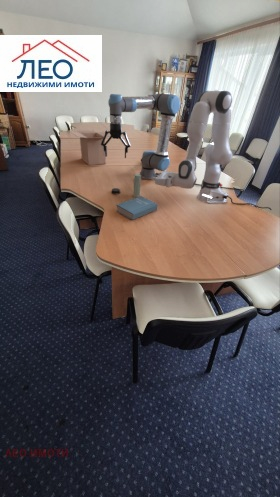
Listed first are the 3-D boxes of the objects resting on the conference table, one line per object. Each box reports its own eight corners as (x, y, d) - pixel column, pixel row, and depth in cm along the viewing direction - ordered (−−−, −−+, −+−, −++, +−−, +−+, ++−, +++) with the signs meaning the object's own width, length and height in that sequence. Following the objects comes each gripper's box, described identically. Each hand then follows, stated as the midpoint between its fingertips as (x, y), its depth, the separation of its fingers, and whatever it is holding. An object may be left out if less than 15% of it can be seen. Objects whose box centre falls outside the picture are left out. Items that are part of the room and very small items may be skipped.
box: (116, 165, 229) (116, 136, 213) (83, 168, 214) (80, 137, 198) (102, 154, 259) (101, 128, 243) (71, 156, 244) (68, 129, 228)
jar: (133, 197, 167) (134, 176, 158) (132, 194, 171) (133, 173, 162) (140, 197, 168) (141, 176, 159) (139, 194, 172) (140, 173, 163)
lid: (120, 194, 171) (120, 191, 169) (112, 194, 169) (112, 191, 168) (119, 191, 176) (119, 188, 174) (111, 191, 174) (111, 188, 173)
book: (140, 202, 160) (141, 196, 157) (157, 210, 151) (157, 203, 148) (116, 211, 147) (116, 204, 144) (132, 220, 138) (133, 213, 135)
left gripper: (95, 122, 141) (97, 157, 154) (134, 125, 141) (133, 159, 154) (97, 120, 147) (99, 154, 160) (134, 123, 147) (133, 156, 160)
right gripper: (176, 170, 158) (158, 167, 162) (168, 179, 143) (148, 175, 147) (175, 179, 162) (157, 175, 166) (167, 188, 147) (147, 184, 150)
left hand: (115, 156), depth 157 cm, fingers open, 13 cm apart
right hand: (153, 175), depth 156 cm, fingers open, 8 cm apart
